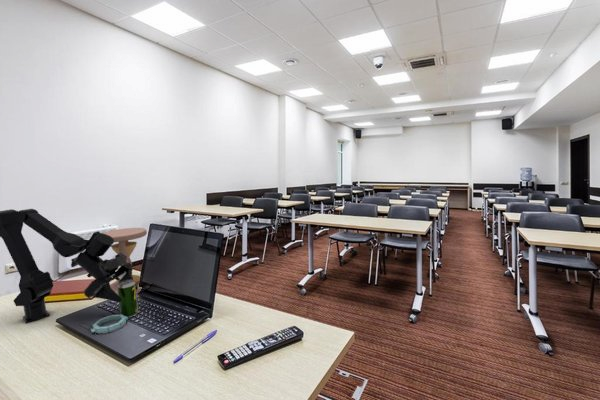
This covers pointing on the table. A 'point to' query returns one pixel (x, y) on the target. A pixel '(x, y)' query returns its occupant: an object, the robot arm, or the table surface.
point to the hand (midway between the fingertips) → (129, 294)
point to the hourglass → (126, 248)
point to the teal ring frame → (109, 324)
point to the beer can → (128, 298)
